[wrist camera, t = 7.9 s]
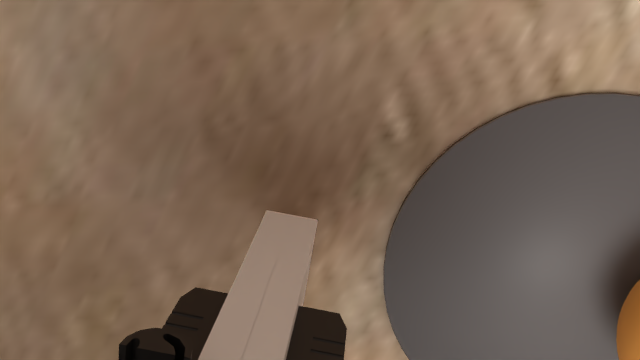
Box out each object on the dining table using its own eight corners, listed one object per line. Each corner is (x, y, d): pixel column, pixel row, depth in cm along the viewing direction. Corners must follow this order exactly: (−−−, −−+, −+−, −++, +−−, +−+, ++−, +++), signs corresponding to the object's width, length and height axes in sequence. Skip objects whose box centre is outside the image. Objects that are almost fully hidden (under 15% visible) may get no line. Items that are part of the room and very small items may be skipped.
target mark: (353, 391, 21) (353, 394, 20) (429, 58, 16) (429, 60, 16) (690, 457, 20) (693, 462, 20) (864, 134, 16) (870, 136, 15)
